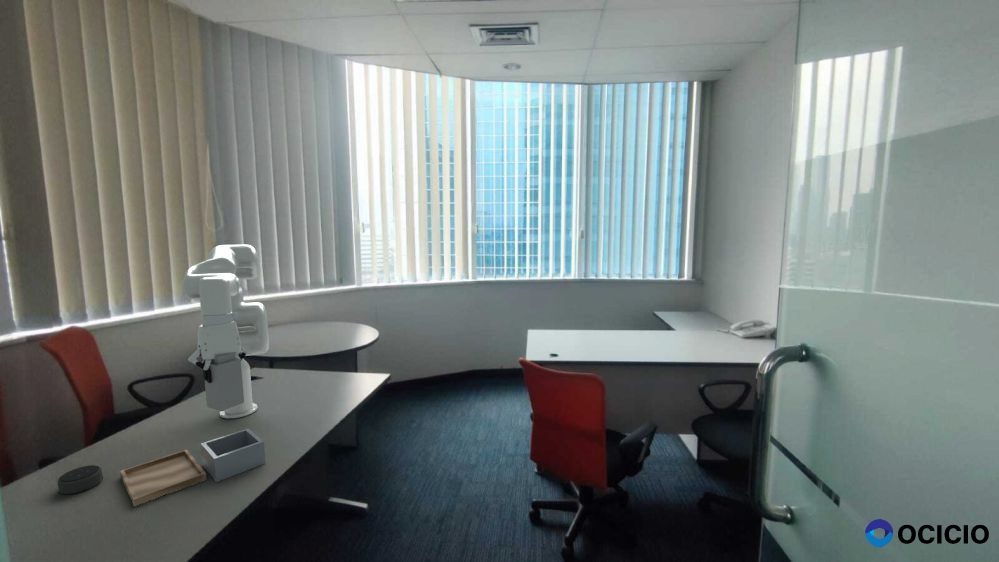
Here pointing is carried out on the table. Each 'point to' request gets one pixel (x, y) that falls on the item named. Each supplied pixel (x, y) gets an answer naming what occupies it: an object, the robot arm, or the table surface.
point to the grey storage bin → (232, 454)
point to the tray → (161, 476)
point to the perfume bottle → (225, 383)
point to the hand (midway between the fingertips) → (222, 378)
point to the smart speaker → (80, 479)
